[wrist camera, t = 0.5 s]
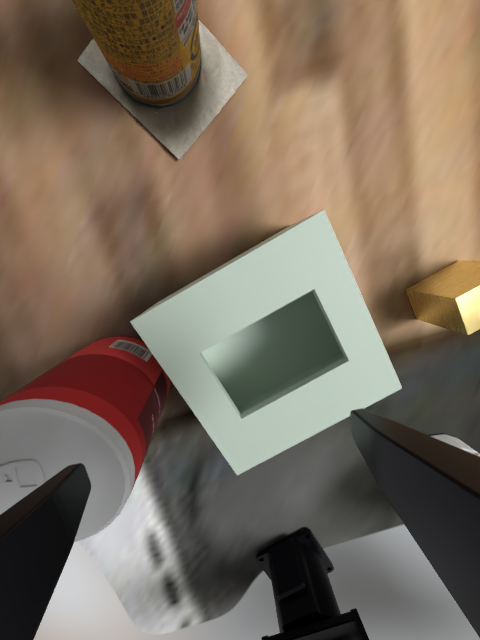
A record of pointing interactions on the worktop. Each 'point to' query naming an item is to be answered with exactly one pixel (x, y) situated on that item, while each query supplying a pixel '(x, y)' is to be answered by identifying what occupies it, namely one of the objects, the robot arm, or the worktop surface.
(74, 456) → the canned food
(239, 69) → the condiment
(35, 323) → the worktop surface
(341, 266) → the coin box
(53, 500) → the robot arm
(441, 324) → the yellow block
